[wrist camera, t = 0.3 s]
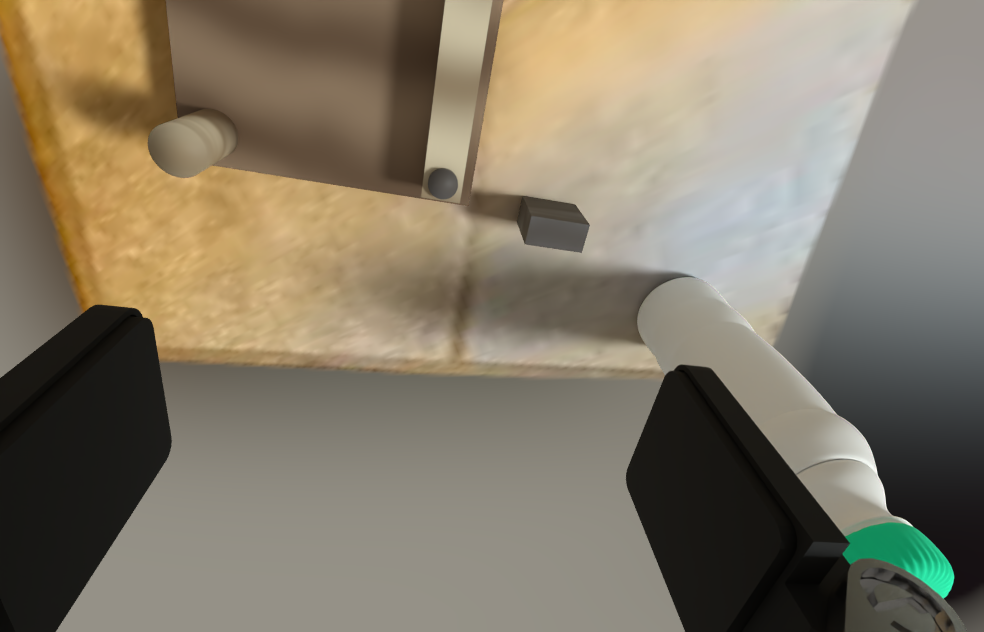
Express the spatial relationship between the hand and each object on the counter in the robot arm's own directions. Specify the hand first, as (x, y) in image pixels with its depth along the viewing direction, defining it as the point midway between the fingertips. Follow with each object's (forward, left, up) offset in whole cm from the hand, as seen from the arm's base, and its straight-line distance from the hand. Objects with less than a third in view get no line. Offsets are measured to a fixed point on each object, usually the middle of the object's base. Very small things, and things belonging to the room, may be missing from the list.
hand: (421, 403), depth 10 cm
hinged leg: (-3, +1, -26) cm, 26 cm away
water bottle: (+11, +22, -29) cm, 38 cm away
